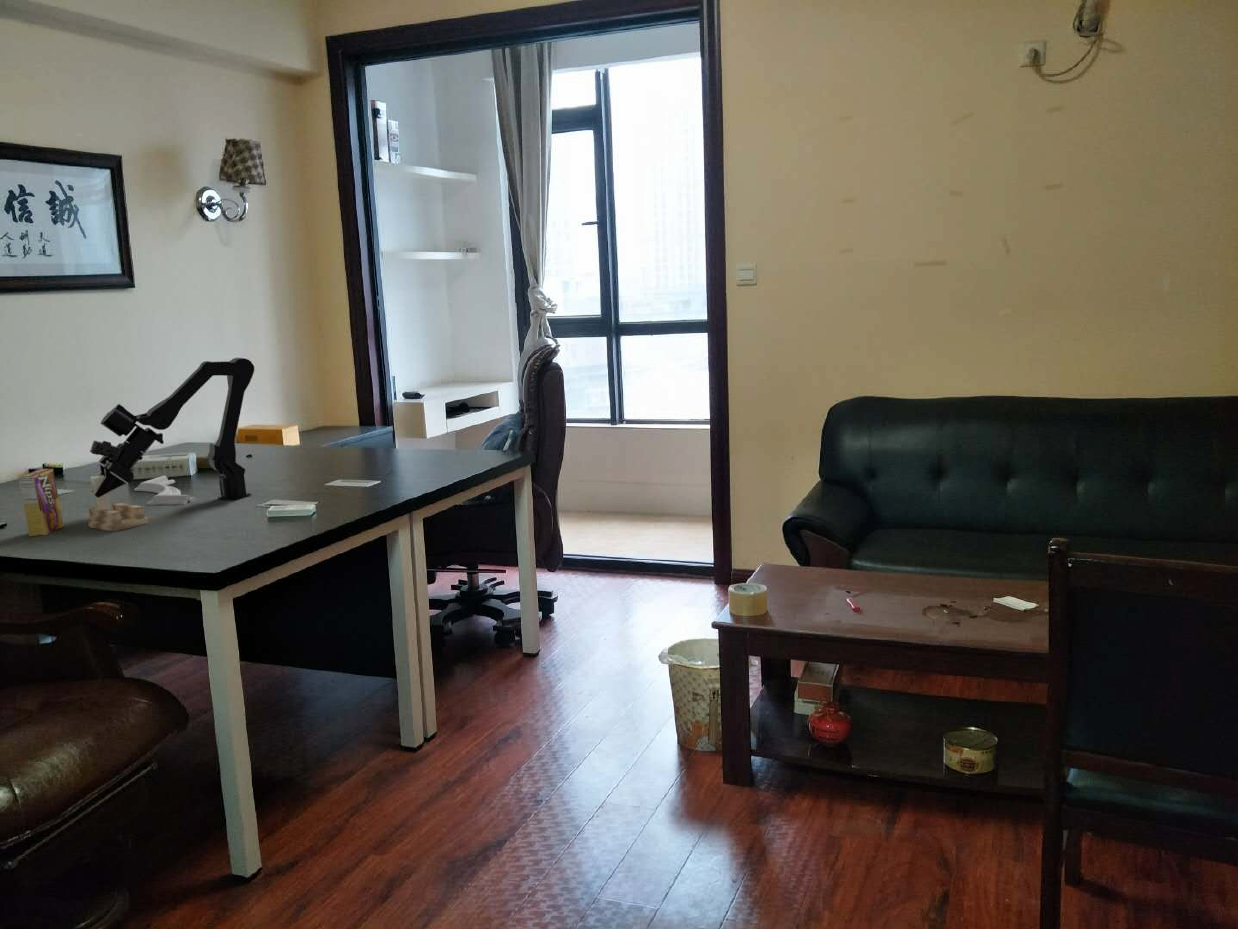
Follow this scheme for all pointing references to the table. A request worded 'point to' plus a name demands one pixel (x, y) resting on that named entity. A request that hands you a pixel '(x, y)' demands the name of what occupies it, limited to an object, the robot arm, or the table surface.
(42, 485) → the candy box
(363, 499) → the table surface
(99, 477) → the grey upright slab
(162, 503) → the molding
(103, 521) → the stand
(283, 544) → the table surface
